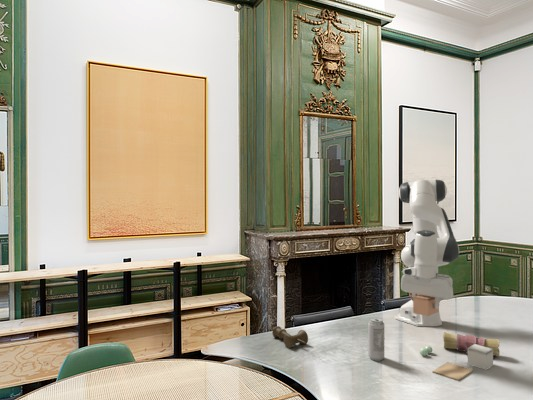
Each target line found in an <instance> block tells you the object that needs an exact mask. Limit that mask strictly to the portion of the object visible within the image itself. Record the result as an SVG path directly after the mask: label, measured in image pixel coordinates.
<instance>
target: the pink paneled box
mask: <svg viewBox="0 0 533 400" xmlns="http://www.w3.org/2000/svg"><path fill="white" fill-rule="evenodd" d="M436 301H437V300H435V297H430V296H425V295H416V296H413V313H416V314H420V315H425V316H430V315H432V314H435V313H437V312H439V313H440V303H439V304H438V309H434V308H432V307H433V306H432V304H434V303H435V302H436Z"/></svg>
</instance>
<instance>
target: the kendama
mask: <svg viewBox="0 0 533 400" xmlns="http://www.w3.org/2000/svg"><path fill="white" fill-rule="evenodd" d="M272 336H273V337H274V338H276V339H277V338H279V339H280V340H283V344H284V345H285V348H287V349H292V348H293V346H294V345H295V344H299V343H300V344H302V345H307V344H308V342H309V336H308V333H307V331H306V330H304V329H299V331H297V333H296V334H295V335H291V334H290V333H288V331H287V329H285V328H282V327H281V326H279V325H277V326H275V327H274V328H273V329H272Z"/></svg>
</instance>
